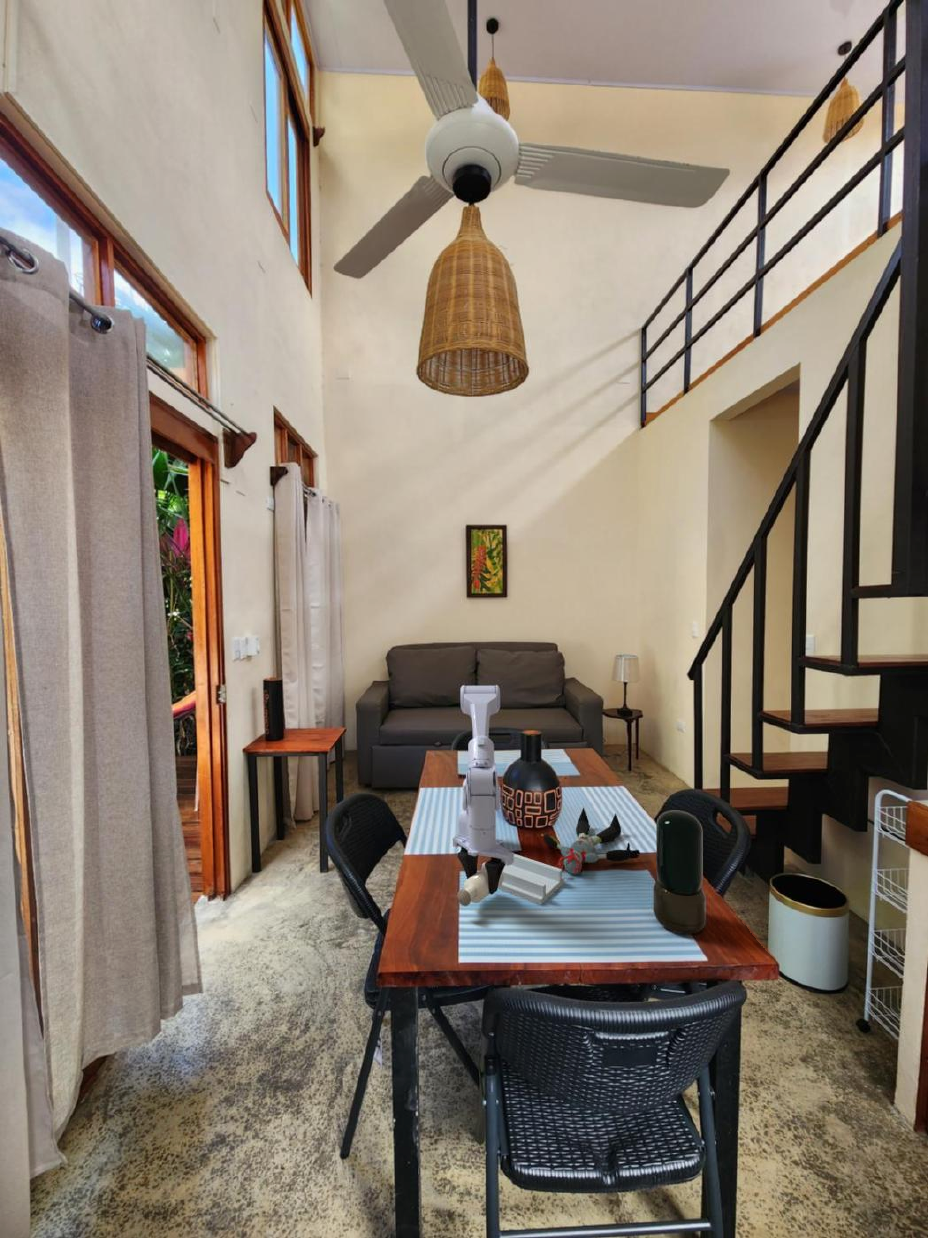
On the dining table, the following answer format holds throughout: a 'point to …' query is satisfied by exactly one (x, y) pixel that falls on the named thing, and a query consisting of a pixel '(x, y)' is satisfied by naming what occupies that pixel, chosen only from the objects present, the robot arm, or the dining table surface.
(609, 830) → the toy
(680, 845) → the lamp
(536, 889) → the cradle
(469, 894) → the bottle
